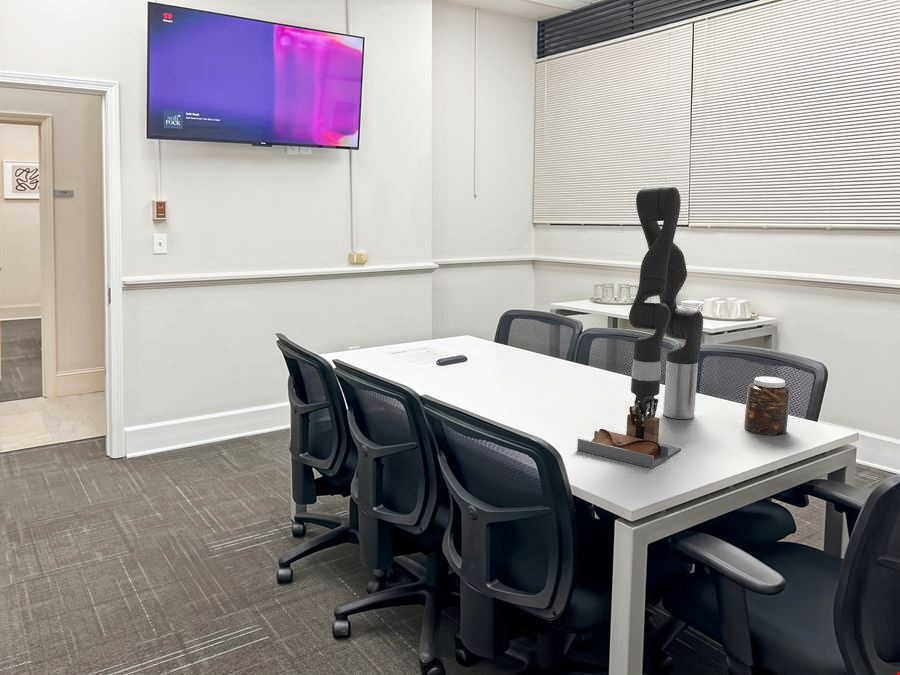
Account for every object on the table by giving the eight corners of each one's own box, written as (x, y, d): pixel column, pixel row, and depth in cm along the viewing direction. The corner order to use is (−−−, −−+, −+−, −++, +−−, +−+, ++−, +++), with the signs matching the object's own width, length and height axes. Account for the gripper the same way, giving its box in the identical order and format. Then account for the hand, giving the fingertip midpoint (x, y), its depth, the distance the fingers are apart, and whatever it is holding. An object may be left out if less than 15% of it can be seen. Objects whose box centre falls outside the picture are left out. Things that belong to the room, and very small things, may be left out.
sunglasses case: (583, 446, 196) (590, 422, 198) (593, 453, 201) (601, 430, 203) (647, 462, 185) (654, 437, 186) (656, 469, 190) (663, 445, 192)
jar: (794, 436, 211) (799, 384, 209) (753, 435, 211) (758, 384, 208) (776, 423, 223) (780, 375, 220) (737, 423, 223) (741, 374, 220)
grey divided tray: (609, 433, 211) (610, 408, 209) (681, 449, 198) (683, 422, 196) (577, 449, 197) (578, 422, 195) (652, 468, 184) (653, 439, 182)
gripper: (644, 369, 207) (640, 429, 211) (621, 378, 197) (617, 441, 200) (669, 373, 203) (665, 434, 206) (647, 383, 192) (643, 447, 195)
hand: (642, 437), depth 203 cm, fingers closed on grey divided tray, 3 cm apart
